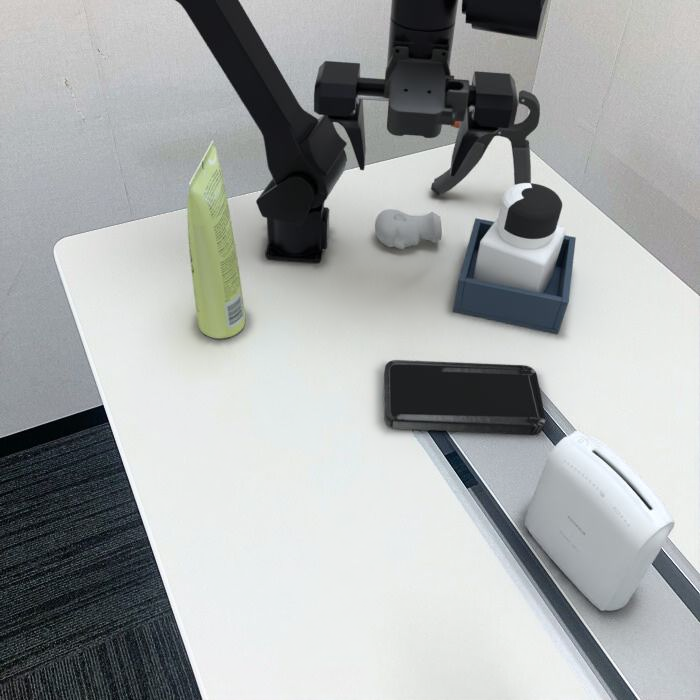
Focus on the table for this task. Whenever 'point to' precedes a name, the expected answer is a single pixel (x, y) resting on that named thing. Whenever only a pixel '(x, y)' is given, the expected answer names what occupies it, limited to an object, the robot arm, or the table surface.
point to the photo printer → (597, 520)
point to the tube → (213, 252)
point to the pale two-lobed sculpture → (407, 228)
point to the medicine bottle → (522, 239)
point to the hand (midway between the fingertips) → (407, 171)
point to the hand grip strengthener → (513, 133)
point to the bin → (514, 290)
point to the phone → (462, 397)
